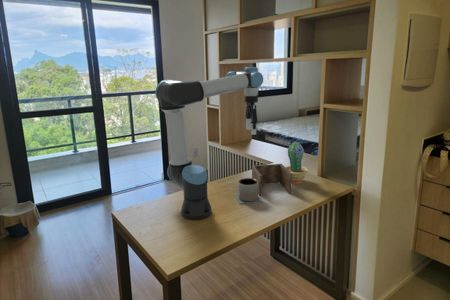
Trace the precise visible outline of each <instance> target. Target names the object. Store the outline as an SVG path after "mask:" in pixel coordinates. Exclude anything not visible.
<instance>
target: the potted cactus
mask: <svg viewBox="0 0 450 300" xmlns="http://www.w3.org/2000/svg"><path fill="white" fill-rule="evenodd" d="M304 152H305V149H304V148H303V146H302V145H301V143H300V142H298V141H297V142H295V141H294V142H292V143H291V144H290V145H289V146H288V148H287V156H288V159H289V165H286V166H285V165H284V167H285V168H287V169H288V170H289V171H290V172H291V173H292V184H293V185H300V184H302V183H303V180H304V179H305V177H306V175H307V174H308V172H309V169H308V168H307V167H305V166H304V165H303V166H302V160H303V157H304Z"/></svg>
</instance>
